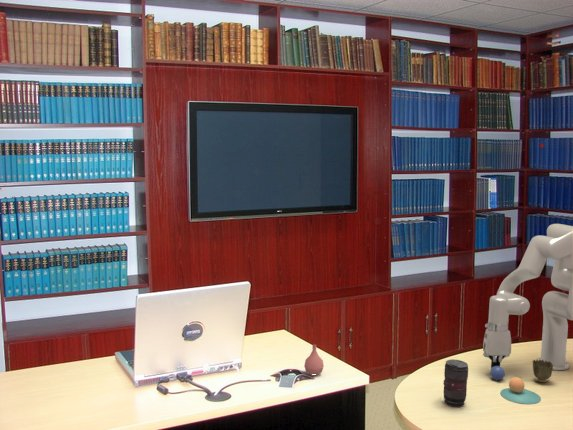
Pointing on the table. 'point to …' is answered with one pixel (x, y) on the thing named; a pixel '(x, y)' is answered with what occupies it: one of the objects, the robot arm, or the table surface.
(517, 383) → the object ball
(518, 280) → the robot arm
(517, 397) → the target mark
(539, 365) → the cup
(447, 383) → the camera lens
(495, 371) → the blue ball
